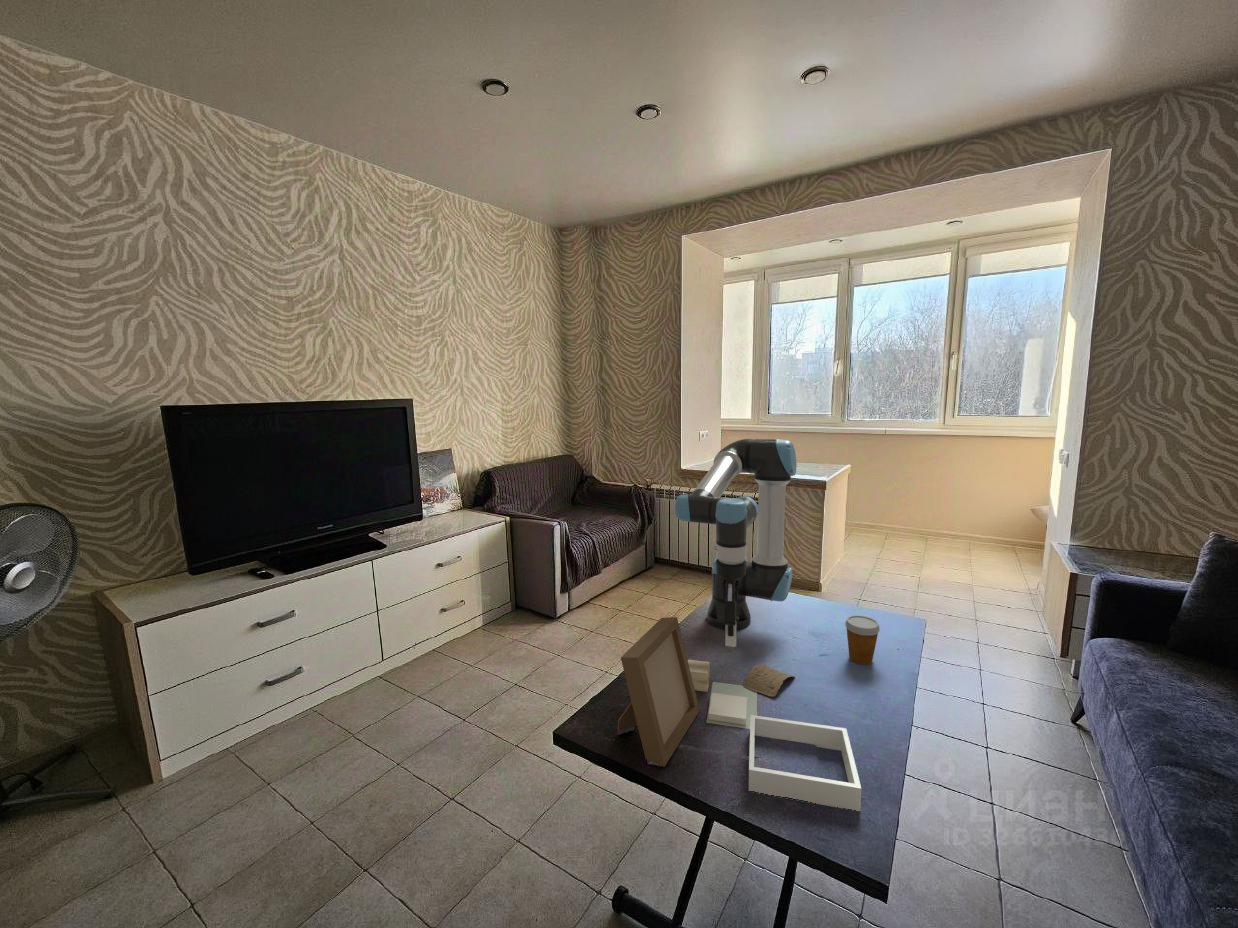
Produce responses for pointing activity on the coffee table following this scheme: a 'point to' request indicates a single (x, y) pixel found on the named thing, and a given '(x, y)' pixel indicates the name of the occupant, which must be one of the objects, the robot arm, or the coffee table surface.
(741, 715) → the tile
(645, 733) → the photo frame
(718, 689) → the mat
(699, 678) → the block
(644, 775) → the coffee table surface
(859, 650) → the disposable coffee cup
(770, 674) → the clay tablet
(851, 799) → the white open rectangular frame
